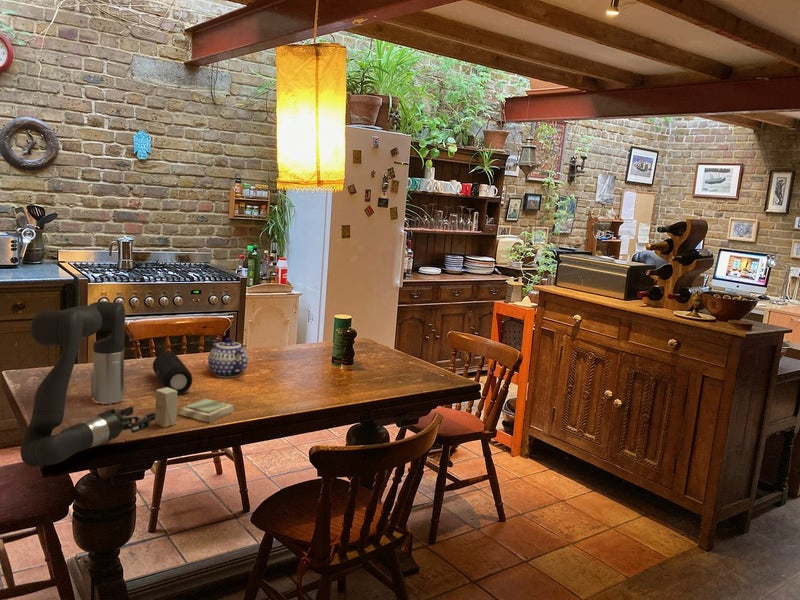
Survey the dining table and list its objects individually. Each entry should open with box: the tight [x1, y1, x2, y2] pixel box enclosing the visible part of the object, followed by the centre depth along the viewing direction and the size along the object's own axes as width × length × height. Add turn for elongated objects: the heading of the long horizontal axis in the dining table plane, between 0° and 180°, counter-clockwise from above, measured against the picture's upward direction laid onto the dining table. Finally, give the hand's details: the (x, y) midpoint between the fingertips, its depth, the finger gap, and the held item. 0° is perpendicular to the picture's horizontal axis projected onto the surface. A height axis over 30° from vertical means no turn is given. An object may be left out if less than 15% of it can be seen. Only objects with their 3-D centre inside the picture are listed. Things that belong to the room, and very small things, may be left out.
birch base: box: [178, 397, 235, 424], centre depth 209 cm, size 12×12×3 cm
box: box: [154, 387, 178, 428], centre depth 197 cm, size 5×4×11 cm
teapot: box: [207, 337, 249, 379], centre depth 252 cm, size 25×15×15 cm, turn 40°
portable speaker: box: [152, 351, 193, 395], centre depth 234 cm, size 26×10×10 cm, turn 30°
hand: (143, 412), depth 188 cm, fingers open, 8 cm apart
